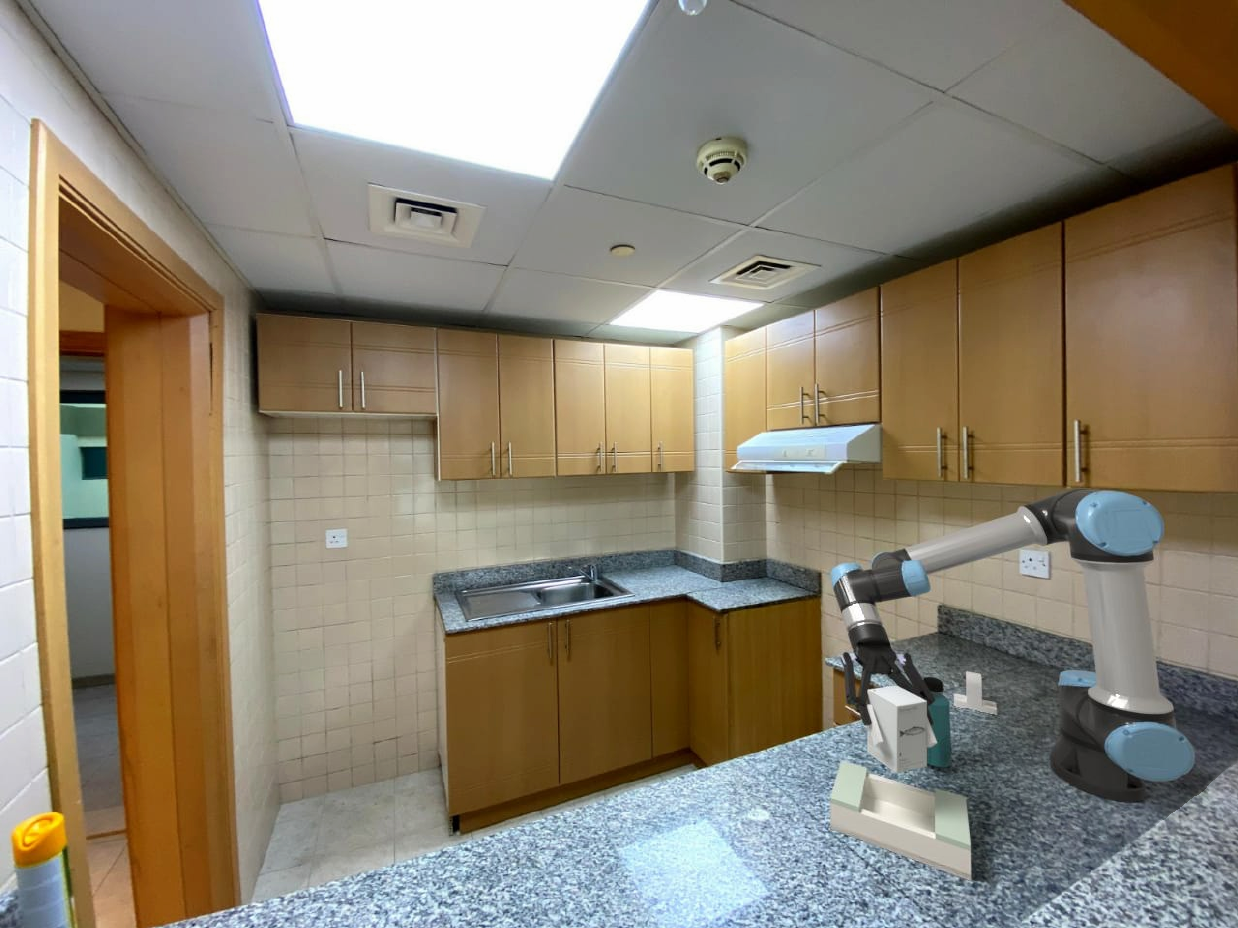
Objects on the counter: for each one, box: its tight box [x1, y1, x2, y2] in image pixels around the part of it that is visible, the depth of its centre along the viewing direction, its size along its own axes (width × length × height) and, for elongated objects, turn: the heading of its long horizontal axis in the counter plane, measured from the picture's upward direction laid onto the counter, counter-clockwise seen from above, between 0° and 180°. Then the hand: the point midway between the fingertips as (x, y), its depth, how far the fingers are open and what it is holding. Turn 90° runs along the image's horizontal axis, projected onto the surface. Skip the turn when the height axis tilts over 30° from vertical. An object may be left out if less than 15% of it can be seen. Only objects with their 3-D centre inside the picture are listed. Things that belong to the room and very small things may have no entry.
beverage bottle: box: [922, 676, 953, 768], centre depth 113 cm, size 6×7×20 cm
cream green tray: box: [829, 760, 972, 882], centre depth 93 cm, size 22×14×6 cm, turn 57°
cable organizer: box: [953, 670, 998, 716], centre depth 139 cm, size 5×10×10 cm, turn 56°
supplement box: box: [866, 684, 928, 774], centre depth 93 cm, size 7×7×13 cm
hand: (905, 744), depth 90 cm, fingers closed on supplement box, 9 cm apart
